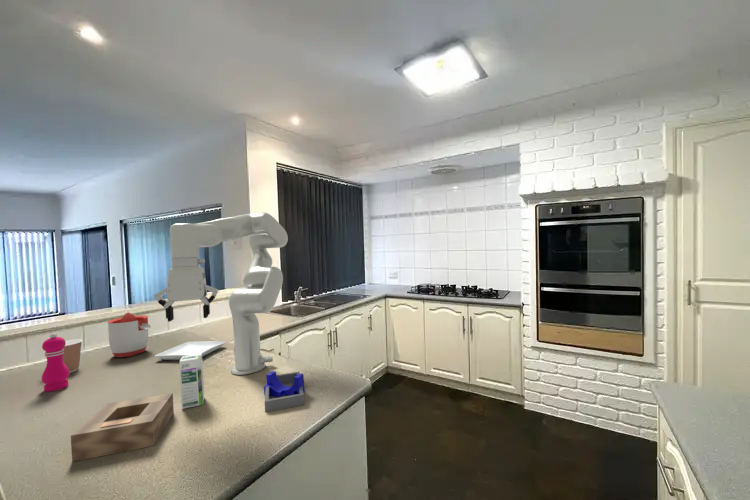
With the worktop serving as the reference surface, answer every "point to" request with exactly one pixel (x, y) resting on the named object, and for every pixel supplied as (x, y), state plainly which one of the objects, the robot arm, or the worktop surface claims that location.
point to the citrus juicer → (128, 335)
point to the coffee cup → (72, 354)
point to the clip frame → (287, 400)
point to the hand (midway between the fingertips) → (188, 318)
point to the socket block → (122, 427)
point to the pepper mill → (54, 364)
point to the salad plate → (190, 350)
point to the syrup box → (191, 381)
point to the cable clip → (279, 389)
